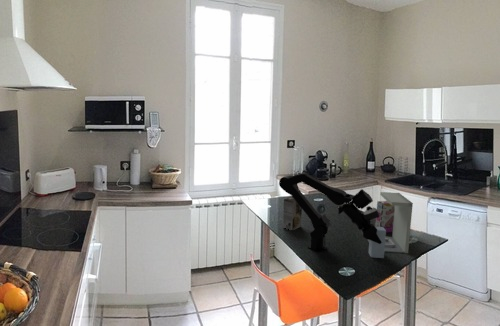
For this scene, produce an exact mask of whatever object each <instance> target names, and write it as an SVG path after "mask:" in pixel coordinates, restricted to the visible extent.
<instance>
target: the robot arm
mask: <svg viewBox="0 0 500 326" xmlns="http://www.w3.org/2000/svg"><path fill="white" fill-rule="evenodd" d="M278 181H279V182H278V185H279V187H280V188H281V189H282V190H283V192H285V193H286V194H288V195H290V197H293V198H294V199H295V201H296V202H297V203H298V204H299V206H300V207H301V208H302V212H304V213H305V214H306V216H307V217H308V218H309V219H310V221H311V222H310V223H311V225H312V227H313V229H312V230H311V231H310V233H309V235H310V245H309V246H307V248H309V249H310V250H312V251H315V252H318V253H319V252H323V251H325V250H327V249H328V247H326V235H327V233H328V232H329V231H330V230H331V227H332V226H331V222H330V219H329V218H328V217H327V216H326V214H325V213H324V214H320V213H319V212H318V211H317V210H316V209H315V207H314V206H313V205H312V204H311V202H310V201H309V200H308V199H307V198H306V196H305V195H304V194H303V192H302V191H301V190H300V188H299V186H298V184H300V183H304V184H305V185H307V186H308V187H310V188H312V189H314V190H315V191H318V192H320V193H321V194H323V195H324V196H326V198H327V199H329V201H330V202H332V203H333V204H334V205H336V206H338V207H337V209H338V212H337V214H338V215H340V214H342V213H344V214H345V216H346V217H347V218H349V220H350V221H351V223H352V224H354V225H355V226H356V227H357V229H358V230H359V231H361V233H360V234H361V235H362V237H363V238H364V239H365V240H367V239H369V240H371V241H374V242H376V243H378V244H381V243H382V242H381V240H380V239H379V237H378V235H377V234H376V233H377V229H376V227H375V224H373V223H371V220H374V219H376V218H378V217H380V216H379V213H378V211H377V207H371V205H370V204H371V203H372V202H373V201H374V200H373V198H372V197H371V195H370V194H369V193H368V192H366V191H365V190H364V188H361V189H360V190H359V191H358V192H356V193H355V194H350V193H347V192H346V191H345V190H343V189H341V188H338V187H333V186H330V185H328V184H326V183H325V182H323V181H321V180H319V179H318V178H316V177H314V176H312V175H310V174H308V173H307V172H301V173H297V174H294V175H292V174H291V175H290V174H287V175H285V176H283V177H281V178H280V179H279V180H278ZM364 208H366V210H365V211H362V210H363V209H364Z"/></svg>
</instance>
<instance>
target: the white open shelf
mask: <svg viewBox="0 0 500 326" xmlns="http://www.w3.org/2000/svg"><path fill="white" fill-rule="evenodd" d="M380 196H381V197H382V198H383V199H384V201H387V202H389V203H390V204H391V205H393V206H395V211H394V222H393V232H392V236H386V238H385V250H384V253H400V254H409V247H410V236H411V228H412V227H411V226H412V225H411V224H412V217H413V216H412V215H413V214H412V213H413V204H414V203H413V202H412V201H411V200H409V199H408V198H406V197H405V196H404V195H403V194H401V193H400V192H391V191H389V192H388V191H387V192H386V191H381V192H380ZM366 240H367V242H368V243H369V239H366Z"/></svg>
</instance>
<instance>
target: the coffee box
mask: <svg viewBox="0 0 500 326" xmlns="http://www.w3.org/2000/svg"><path fill="white" fill-rule="evenodd" d="M302 213H303V209H302V208H301V207H300V206H299V204H298V203H297V202H296V201H295V199H294V198H293V197H292V196H290V197H287V198H285V199H283V214H282V215H283V218H282V228H283V229H284V228H286V229H285V230H288V229H289V231H291V230H293V231H295V230H297V229H298V228H301V227H302Z"/></svg>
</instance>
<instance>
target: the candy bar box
mask: <svg viewBox="0 0 500 326" xmlns="http://www.w3.org/2000/svg"><path fill="white" fill-rule="evenodd" d="M376 209H377V211H378V213H379V216H380V217H378V218H375V222H374V223H375V224H374V226H375V227H383V228H384V229H385V230H386V234H388V233H393V222H394V211H395V206H393V205H391V204H390V203H389V202H387V201H386V200H377V204H376Z"/></svg>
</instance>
